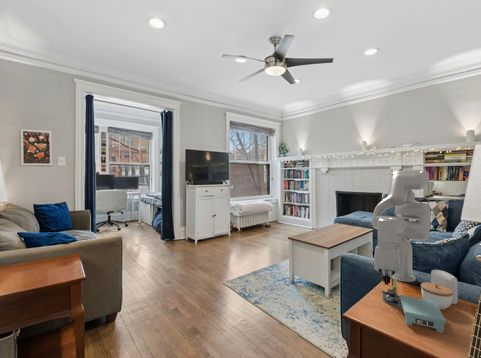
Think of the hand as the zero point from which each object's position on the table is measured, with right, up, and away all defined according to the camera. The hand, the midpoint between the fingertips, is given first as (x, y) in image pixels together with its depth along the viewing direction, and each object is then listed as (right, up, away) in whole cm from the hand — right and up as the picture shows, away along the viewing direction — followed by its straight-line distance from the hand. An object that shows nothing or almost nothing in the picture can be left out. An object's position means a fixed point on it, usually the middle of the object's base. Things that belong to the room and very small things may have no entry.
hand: (386, 283), depth 112 cm
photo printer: (+24, -5, -3) cm, 25 cm away
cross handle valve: (-1, -4, -4) cm, 6 cm away
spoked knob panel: (0, -5, -15) cm, 16 cm away
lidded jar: (+16, -6, -9) cm, 19 cm away
